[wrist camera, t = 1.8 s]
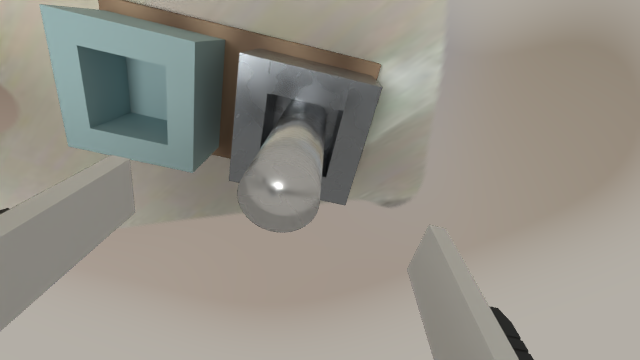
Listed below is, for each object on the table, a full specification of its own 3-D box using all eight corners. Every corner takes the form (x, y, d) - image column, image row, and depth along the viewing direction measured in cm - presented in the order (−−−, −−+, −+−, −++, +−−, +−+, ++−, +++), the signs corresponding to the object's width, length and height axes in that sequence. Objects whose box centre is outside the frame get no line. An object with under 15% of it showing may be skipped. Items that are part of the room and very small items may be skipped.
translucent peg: (280, 135, 27) (234, 223, 15) (286, 93, 25) (241, 153, 13) (321, 144, 27) (310, 239, 15) (330, 103, 25) (328, 172, 13)
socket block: (248, 153, 29) (228, 180, 24) (260, 48, 25) (239, 52, 19) (343, 174, 30) (345, 205, 24) (372, 75, 25) (382, 87, 20)
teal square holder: (118, 124, 28) (68, 146, 23) (105, 10, 24) (39, 4, 18) (218, 146, 29) (192, 172, 24) (225, 39, 24) (194, 41, 19)
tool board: (123, 128, 30) (114, 133, 29) (110, -4, 25) (97, -5, 23) (344, 177, 32) (345, 183, 30) (378, 63, 26) (381, 65, 25)
